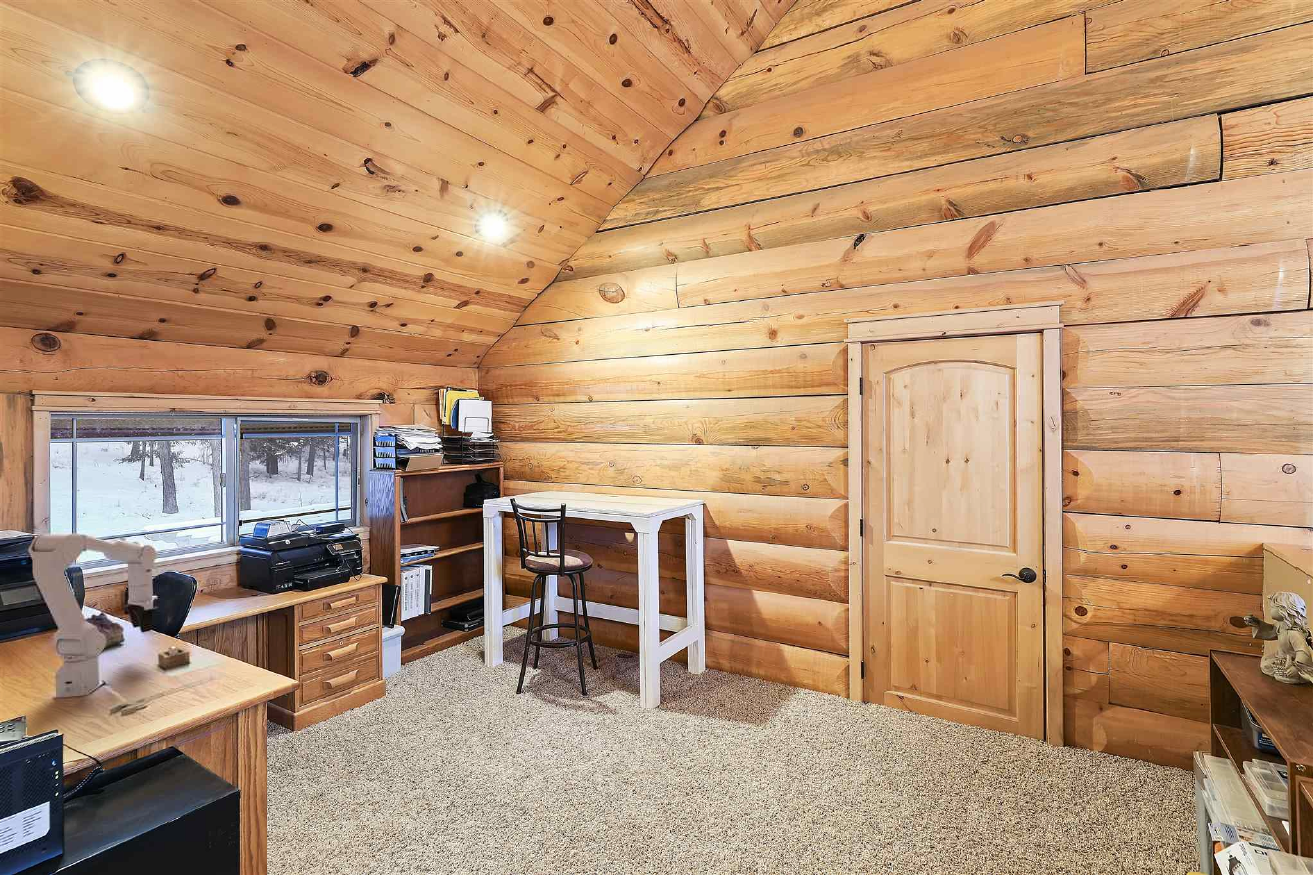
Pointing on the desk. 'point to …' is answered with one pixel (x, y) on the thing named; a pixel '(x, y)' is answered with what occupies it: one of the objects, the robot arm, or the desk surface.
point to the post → (172, 651)
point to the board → (190, 666)
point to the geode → (107, 629)
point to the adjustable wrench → (142, 701)
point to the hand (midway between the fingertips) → (141, 629)
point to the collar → (173, 658)
